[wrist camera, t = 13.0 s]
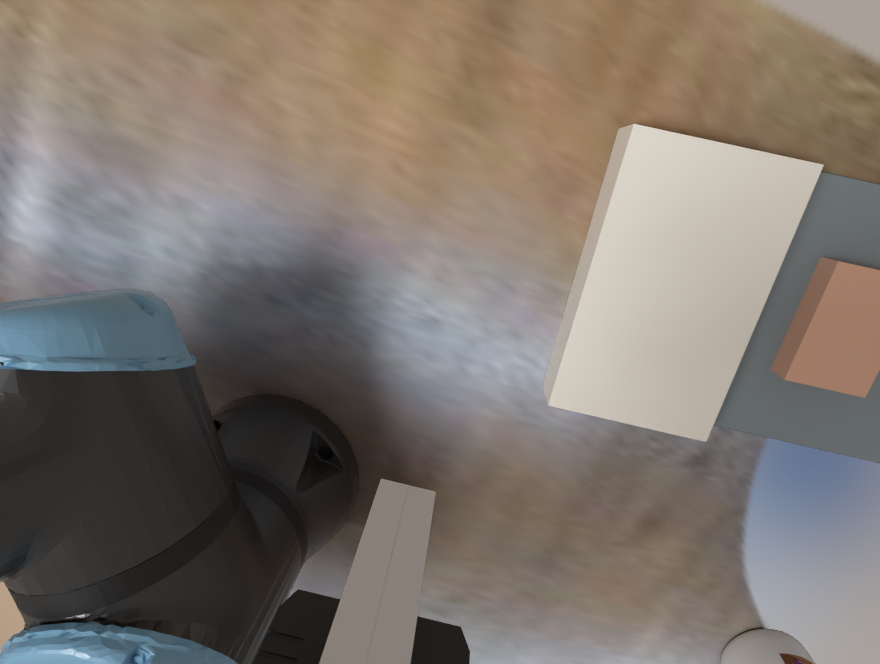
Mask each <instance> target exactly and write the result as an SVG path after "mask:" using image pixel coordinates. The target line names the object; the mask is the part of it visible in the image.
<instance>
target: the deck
mask: <svg viewBox="0 0 880 664" xmlns="http://www.w3.org/2000/svg"><path fill="white" fill-rule="evenodd" d="M823 166H824V165H822V164H818V163H813V162H809V161H804V160H799V159H795V158H790V157H785V156H781V155H776V154H771V153H767V152H762V151H758V150H753V149H748V148H744V147H739V146H734V145H730V144H725V143H720V142H716V141H711V140H707V139H702V138H697V137H693V136H688V135H683V134H679V133H674V132H669V131H665V130H660V129H656V128H651V127H646V126H642V125H637V124H632V125H629V126H626V127H623V128H620V129H618V133H617V136H616V139H615V143H614V146H613V150H612V153H611V156H610V160H609V163H608V166H607V170H606V173H605V176H604V180H603V183H602V187H601V190H600V193H599V197H598V200H597V203H596V207H595V210H594V213H593V217H592V220H591V224H590V227H589V230H588V234H587V237H586V240H585V244H584V247H583V250H582V254H581V257H580V261H579V264H578V267H577V271H576V274H575V277H574V281H573V284H572V288H571V291H570V294H569V298H568V301H567V304H566V308H565V311H564V314H563V318H562V321H561V325H560V328H559V331H558V335H557V338H556V341H555V345H554V348H553V351H552V355H551V358H550V362H549V365H548V368H547V372H546V375H545V378H544V382H543V388H544V392H545V396H546V400H547V404H548V406H552V407H556V408H561V409H565V410H569V411H574V412H578V413H582V414H587V415H591V416H595V417H600V418H604V419H608V420H613V421H617V422H621V423H626V424H630V425H634V426H639V427H643V428H647V429H652V430H656V431H660V432H665V433H669V434H673V435H678V436H682V437H686V438H691V439H695V440H699V441H704V442H706V441H707V439H708V437H709V434H710V432H711V430H712V427H713V425H714V423H715V420H716V418H717V416H718V413H719V411H720V408H721V406H722V404H723V401H724V399H725V397H726V394H727V392H728V390H729V387H730V385H731V383H732V380H733V378H734V376H735V373H736V371H737V368H738V366H739V364H740V361H741V359H742V357H743V354H744V352H745V350H746V347H747V345H748V343H749V340H750V338H751V335H752V333H753V331H754V328H755V326H756V324H757V321H758V319H759V317H760V314H761V312H762V310H763V307H764V305H765V302H766V300H767V298H768V295H769V293H770V291H771V288H772V286H773V284H774V281H775V279H776V277H777V274H778V272H779V270H780V267H781V265H782V262H783V260H784V258H785V255H786V253H787V251H788V248H789V246H790V244H791V241H792V239H793V237H794V234H795V232H796V229H797V227H798V225H799V222H800V220H801V218H802V215H803V213H804V211H805V208H806V206H807V204H808V201H809V199H810V197H811V194H812V192H813V189H814V187H815V185H816V182H817V180H818V178H819V175H820V173H821V171H822V168H823Z"/></svg>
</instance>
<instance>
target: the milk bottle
mask: <svg viewBox="0 0 880 664" xmlns="http://www.w3.org/2000/svg"><path fill="white" fill-rule="evenodd" d="M721 664H815V663H814V661H813V659H812V658H811V656H810V655H809V654H808V652H807V651H806V650H805V648H804V647H803V645H802V644H801V643H800V642H799V641H797V640H796V639H795V638H793V637H792V636H790V635H789V634H786V633H784V632H782V631H778V630H773V629H757V630H752V631H748V632H745V633H742V634H741V635H739V636H737V637H735V638H734V639H733V640H731V641H730V642H729V643H728V644H727V645H726V647H725V649H724V650H723V652H722V656H721Z"/></svg>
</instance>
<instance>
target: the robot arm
mask: <svg viewBox="0 0 880 664" xmlns="http://www.w3.org/2000/svg"><path fill="white" fill-rule="evenodd" d="M195 364H196V359H195V356H194V355H192V354H191V353H189V352H188V349H187V347H186V345H185V342H184V340H183V337H182V335H181V333H180V330H179V328H178V326H177V323H176V321H175V318H174V316H173V314H172V311H171V310H170V308H169V306H168V305H167V304H166V303H165V302H164V301H163V300H162V299H161V298H159V297H158V296H156V295H155V294H153V293H150V292H148V291H144V290H140V289H116V290H104V291H94V292H85V293H75V294H67V295H59V296H51V297H42V298H34V299H26V300H18V301H11V302H3V303H0V582H4V583H5V585H6V587H7V588H8V590H9V592H10V593H11V595H12V597H13V599H14V601H15V603H16V605H17V608H18V609H19V611H20V613H21V615H22V617H23V619H24V621H25V627H24V630H22V631H21V632H20V633H18V634H15V635H13V636H12V637H11V638H10V639H9V640H8V641H7V642H6V643H5V644H4V645H3V647H2V649H1V654H0V664H469V657H470V651H469V648H468V645H467V643H466V640H465V637H464V635H463V632H462V629H461V627H459V626H455V625H450V624H446V623H442V622H438V621H434V620H430V619H426V618H421V617H417V616H418V609H419V603H420V596H421V589H422V582H423V576H424V569H425V562H426V555H427V549H428V542H429V535H430V528H431V522H432V515H433V508H434V501H435V495H436V492H435V491H431V490H427V489H423V488H419V487H414V486H410V485H406V484H402V483H398V482H393V481H389V480H385V479H381V480H380V483H379V486H378V489H377V492H376V495H375V498H374V501H373V504H372V507H371V510H370V513H369V516H368V519H367V522H366V525H365V528H364V531H363V534H362V537H361V540H360V543H359V546H358V549H357V552H356V555H355V558H354V561H353V564H352V567H351V570H350V573H349V576H348V579H347V582H346V585H345V588H344V591H343V594H342V597H341V600H340V599H336V598H332V597H328V596H323V595H319V594H315V593H311V592H307V591H303V590H299V589H298V590H297V591H296V592H295V593H294V594H292V595H291V596H290V597H289V598H288V599H287V597H288V595H289V593H290V591H291V589H292V587H293V584H294V582H295V580H296V578H297V576H298V573H299V571H300V569H301V567H302V565H303V563H305V562H306V561H307V560H308V559H309V558H310V557H311V556H312V555H313V554H315V553H316V552H317V551H318V550H319V549H320V548H321V547H322V546H323V545H324V544H325V543H327V542H328V541H329V540H330V539H331V538H332V537H333V536H334V535H335V534H336V533H337V532H338V531H339V529H340V528H341V527H342V525H343V524H344V522H345V520H346V519H347V517H348V514H349V512H350V510H351V507H352V505H353V502H354V500H355V497H356V493H357V489H358V468H357V463H356V460H355V456H354V454H353V451H352V449H351V447H350V445H349V443H348V441H347V440H346V438H345V437H344V435H343V434H342V433H341V431H340V430H339V429H338V428H337V427H336V426H335V425H334V424H333V423H332V422H331V421H330V420H329V419H328V418H327V417H326V416H324V415H323V414H322V413H320V412H319V411H317V410H315V409H314V408H312V407H310V406H308V405H306V404H304V403H302V402H299V401H296V400H294V399H290V398H286V397H281V396H274V395H257V396H250V397H246V398H242V399H239V400H236V401H234V402H232V403H230V404H228V405H226V406H225V407H223V408H222V409H220V410H219V411H218V412H217V413H216V414H215V415H213V416H212V415H211V412H210V410H209V407H208V404H207V401H206V398H205V396H204V393H203V390H202V387H201V384H200V381H199V379H198V376H197V373H196V370H195V367H194V365H195ZM286 599H287V600H286Z"/></svg>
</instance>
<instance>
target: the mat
mask: <svg viewBox="0 0 880 664" xmlns="http://www.w3.org/2000/svg"><path fill="white" fill-rule="evenodd" d="M820 257H825V258H829V259H834V260H838V261H843V262H847V263H852V264H856V265H861V266H866V267H870V268H875V269H879V270H880V185H879V184H874V183H870V182H865V181H860V180H856V179H851V178H846V177H842V176H837V175H833V174H828V173H823V172H821V173H820V175H819V178H818V180H817V182H816V185H815V187H814V189H813V192H812V194H811V197H810V199H809V201H808V204H807V206H806V208H805V211H804V213H803V215H802V218H801V220H800V222H799V225H798V227H797V229H796V232H795V234H794V237H793V239H792V241H791V244H790V246H789V248H788V251H787V253H786V255H785V258H784V260H783V262H782V265H781V267H780V270H779V272H778V274H777V277H776V279H775V281H774V284H773V286H772V288H771V291H770V293H769V295H768V298H767V300H766V302H765V305H764V307H763V310H762V312H761V314H760V317H759V319H758V321H757V324H756V326H755V328H754V331H753V333H752V335H751V338H750V340H749V343H748V345H747V347H746V350H745V352H744V354H743V357H742V359H741V361H740V364H739V366H738V368H737V371H736V373H735V376H734V378H733V380H732V383H731V385H730V387H729V390H728V392H727V394H726V397H725V399H724V401H723V404H722V406H721V408H720V411H719V413H718V416H717V418H716V420H715V423H714V425H715V426H720V427H724V428H729V429H733V430H737V431H742V432H746V433H750V434H755V435H759V436H763V437H768V438H772V439H777V440H781V441H785V442H790V443H794V444H798V445H803V446H807V447H811V448H816V449H820V450H824V451H829V452H833V453H837V454H842V455H846V456H851V457H855V458H859V459H864V460H868V461H872V462H877V463H880V370H879V372H878V374H877V376H876V378H875V380H874V382H873V384H872V386H871V388H870V390H869V392H868V394H867V395H866V397H865V398H863V397H859V396H854V395H850V394H846V393H841V392H837V391H832V390H828V389H823V388H819V387H815V386H810V385H806V384H801V383H797V382H793V381H788V380H784V379H783V378H781V377H780V376H778V375H777V374H776V373H774V372H773V371H771V370H770V369H771V367H772V365H773V362H774V360H775V358H776V356H777V353H778V351H779V349H780V347H781V344H782V342H783V340H784V338H785V335H786V333H787V331H788V329H789V327H790V324H791V322H792V320H793V318H794V315H795V313H796V311H797V309H798V306H799V304H800V302H801V300H802V297H803V295H804V293H805V291H806V288H807V286H808V284H809V282H810V280H811V277H812V275H813V273H814V271H815V268H816V266H817V264H818V262H819V259H820Z"/></svg>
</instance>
